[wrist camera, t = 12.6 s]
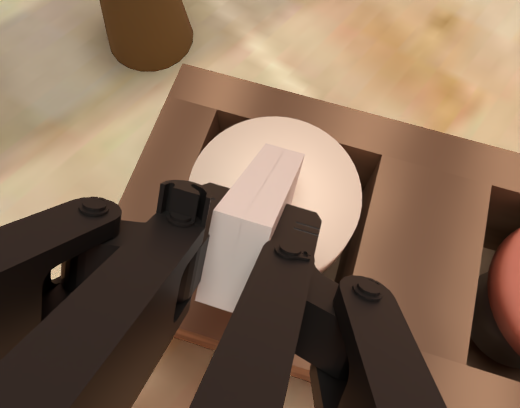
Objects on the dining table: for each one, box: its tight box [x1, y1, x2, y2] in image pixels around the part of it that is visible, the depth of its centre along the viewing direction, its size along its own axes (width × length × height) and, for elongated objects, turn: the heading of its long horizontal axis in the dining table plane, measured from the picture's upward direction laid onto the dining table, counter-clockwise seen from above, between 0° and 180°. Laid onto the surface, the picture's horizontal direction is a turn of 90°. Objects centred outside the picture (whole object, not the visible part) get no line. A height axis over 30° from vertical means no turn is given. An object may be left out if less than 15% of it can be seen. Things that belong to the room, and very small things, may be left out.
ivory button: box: [189, 116, 362, 273], centre depth 22 cm, size 7×7×7 cm
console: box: [118, 64, 520, 408], centre depth 24 cm, size 26×12×8 cm, turn 73°
